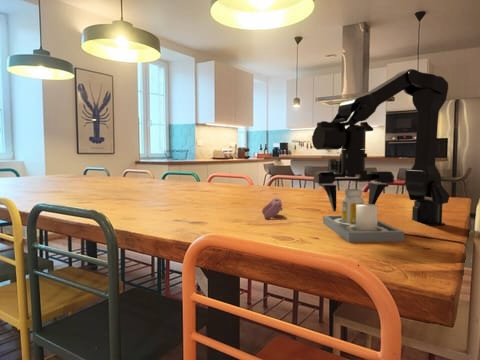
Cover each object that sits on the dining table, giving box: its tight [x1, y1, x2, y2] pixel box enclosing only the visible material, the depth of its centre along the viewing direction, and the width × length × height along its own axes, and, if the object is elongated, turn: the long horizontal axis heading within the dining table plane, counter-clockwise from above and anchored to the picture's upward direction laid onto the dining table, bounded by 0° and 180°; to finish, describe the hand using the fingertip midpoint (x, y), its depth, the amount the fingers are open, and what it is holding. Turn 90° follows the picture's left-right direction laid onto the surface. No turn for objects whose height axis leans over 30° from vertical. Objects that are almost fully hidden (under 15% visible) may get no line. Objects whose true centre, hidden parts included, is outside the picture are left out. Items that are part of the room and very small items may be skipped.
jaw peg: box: [356, 203, 379, 231], centre depth 79 cm, size 5×5×7 cm
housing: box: [322, 215, 405, 243], centre depth 83 cm, size 12×20×3 cm, turn 2°
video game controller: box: [261, 197, 283, 220], centre depth 109 cm, size 10×5×7 cm, turn 0°
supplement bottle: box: [341, 188, 365, 224], centre depth 87 cm, size 5×5×10 cm
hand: (352, 211), depth 87 cm, fingers open, 9 cm apart
